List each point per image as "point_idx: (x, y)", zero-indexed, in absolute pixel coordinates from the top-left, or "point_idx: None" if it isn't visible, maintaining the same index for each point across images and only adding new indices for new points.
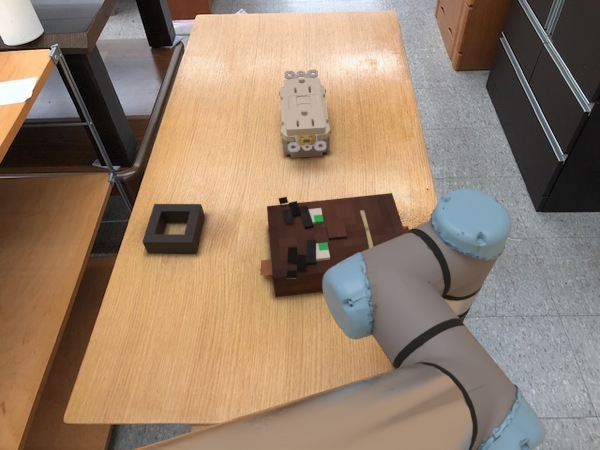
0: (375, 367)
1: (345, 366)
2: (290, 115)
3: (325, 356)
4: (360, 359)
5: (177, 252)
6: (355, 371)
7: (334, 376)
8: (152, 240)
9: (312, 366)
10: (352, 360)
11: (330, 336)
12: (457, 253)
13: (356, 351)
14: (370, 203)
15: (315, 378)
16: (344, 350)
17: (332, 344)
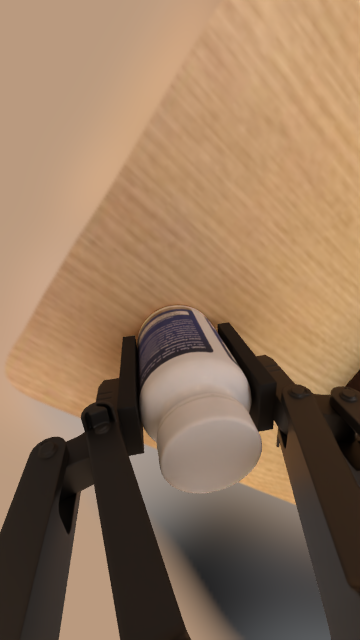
0: (225, 268)
1: (278, 202)
2: None
3: (334, 172)
4: (264, 249)
5: None
6: (251, 216)
7: (280, 153)
8: None
9: (344, 115)
10: (276, 230)
11: (356, 223)
12: None
13: (284, 254)
14: None
15: (316, 95)
16: (307, 230)
17: (340, 213)
